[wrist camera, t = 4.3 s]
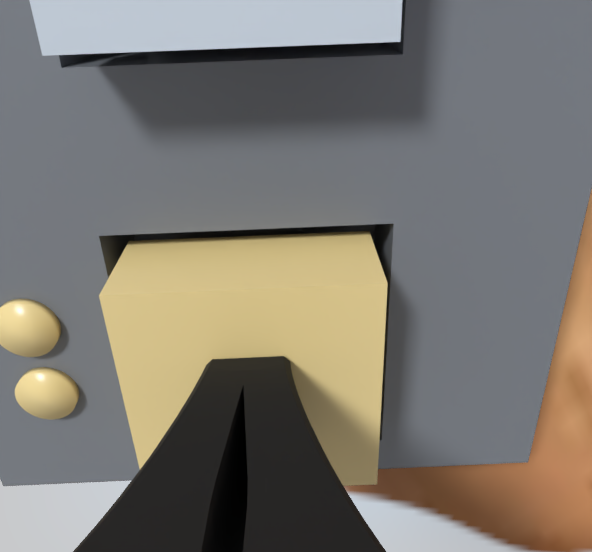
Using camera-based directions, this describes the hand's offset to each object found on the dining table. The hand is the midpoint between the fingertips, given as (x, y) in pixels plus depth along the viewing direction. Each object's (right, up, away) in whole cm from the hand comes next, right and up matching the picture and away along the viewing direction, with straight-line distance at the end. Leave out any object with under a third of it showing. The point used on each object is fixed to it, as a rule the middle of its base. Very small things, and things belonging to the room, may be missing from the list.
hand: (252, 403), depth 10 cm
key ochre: (0, +1, +2) cm, 2 cm away
